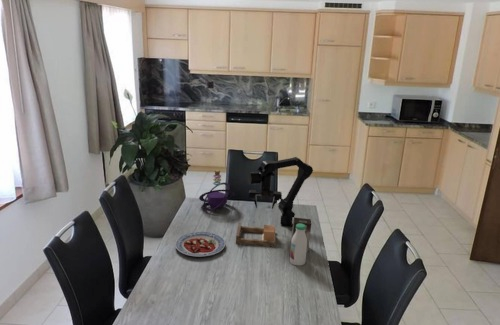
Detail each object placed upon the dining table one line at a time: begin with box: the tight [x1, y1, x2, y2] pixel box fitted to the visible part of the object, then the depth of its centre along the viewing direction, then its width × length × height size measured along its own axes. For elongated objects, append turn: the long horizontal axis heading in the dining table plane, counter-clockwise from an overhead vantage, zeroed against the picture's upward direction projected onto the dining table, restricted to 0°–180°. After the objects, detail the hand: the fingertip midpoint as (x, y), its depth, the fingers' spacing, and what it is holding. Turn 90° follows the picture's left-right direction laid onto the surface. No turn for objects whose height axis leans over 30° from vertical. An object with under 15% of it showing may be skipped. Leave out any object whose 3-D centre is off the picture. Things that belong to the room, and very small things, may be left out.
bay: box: [235, 222, 276, 247], centre depth 211 cm, size 21×16×4 cm
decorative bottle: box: [198, 169, 235, 212], centre depth 245 cm, size 22×21×25 cm
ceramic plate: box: [174, 231, 226, 258], centre depth 199 cm, size 26×26×3 cm
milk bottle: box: [289, 223, 307, 267], centre depth 186 cm, size 8×8×20 cm
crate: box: [262, 224, 276, 241], centre depth 210 cm, size 6×8×6 cm
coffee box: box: [290, 216, 312, 253], centre depth 200 cm, size 9×6×16 cm
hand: (264, 208), depth 221 cm, fingers open, 9 cm apart
